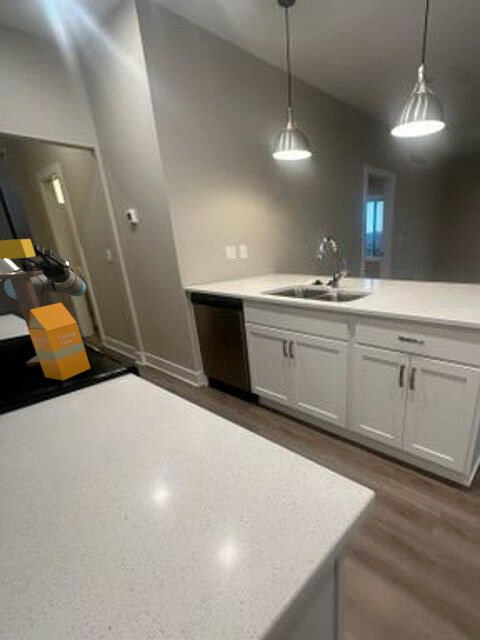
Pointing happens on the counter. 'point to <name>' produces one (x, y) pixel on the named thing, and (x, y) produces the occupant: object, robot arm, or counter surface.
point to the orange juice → (57, 342)
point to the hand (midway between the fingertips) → (20, 243)
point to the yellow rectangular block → (16, 249)
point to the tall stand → (25, 297)
